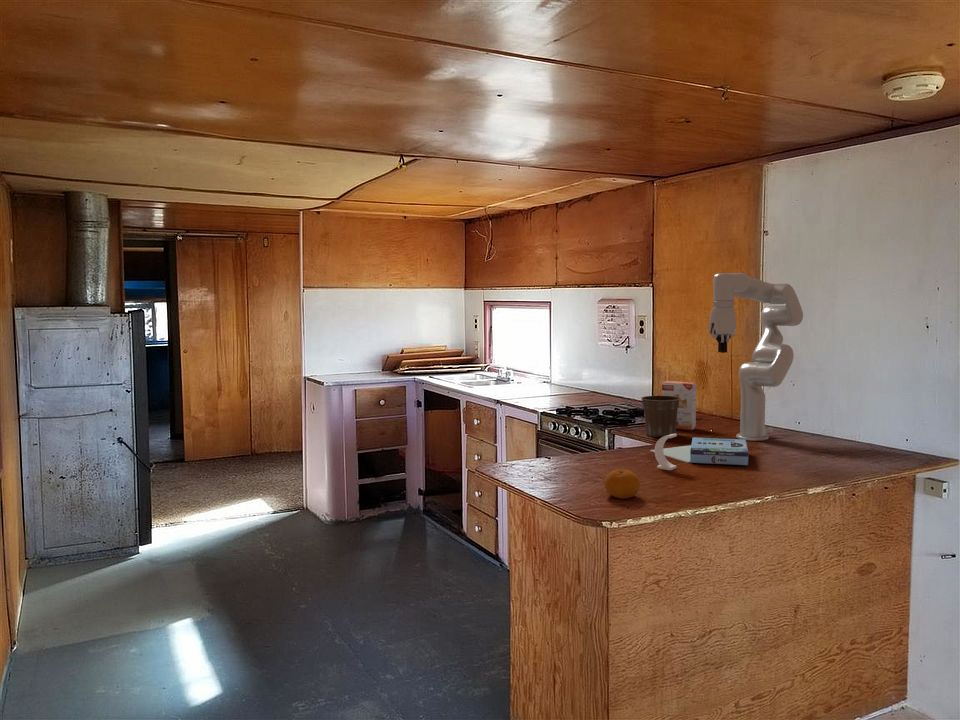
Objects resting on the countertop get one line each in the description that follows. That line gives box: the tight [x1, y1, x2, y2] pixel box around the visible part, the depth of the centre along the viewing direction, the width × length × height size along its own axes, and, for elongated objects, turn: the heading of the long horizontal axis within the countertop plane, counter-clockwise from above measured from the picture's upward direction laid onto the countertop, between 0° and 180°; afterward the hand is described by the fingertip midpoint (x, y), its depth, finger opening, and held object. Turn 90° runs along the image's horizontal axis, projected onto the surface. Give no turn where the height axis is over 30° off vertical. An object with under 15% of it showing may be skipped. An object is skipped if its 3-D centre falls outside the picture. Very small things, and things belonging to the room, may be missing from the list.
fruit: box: [604, 468, 641, 500], centre depth 214 cm, size 10×10×8 cm
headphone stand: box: [654, 433, 678, 471], centre depth 248 cm, size 5×6×12 cm
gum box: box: [690, 436, 749, 466], centre depth 261 cm, size 20×5×23 cm
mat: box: [649, 444, 691, 464], centre depth 269 cm, size 20×22×1 cm
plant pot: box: [640, 395, 680, 438], centre depth 305 cm, size 16×16×16 cm
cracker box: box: [661, 380, 697, 431], centre depth 320 cm, size 14×6×21 cm, turn 55°
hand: (722, 352), depth 279 cm, fingers closed
